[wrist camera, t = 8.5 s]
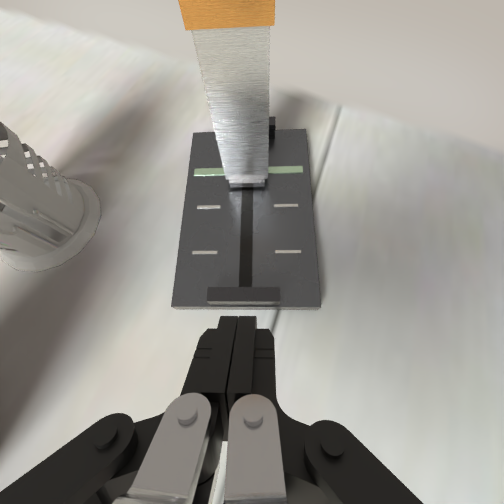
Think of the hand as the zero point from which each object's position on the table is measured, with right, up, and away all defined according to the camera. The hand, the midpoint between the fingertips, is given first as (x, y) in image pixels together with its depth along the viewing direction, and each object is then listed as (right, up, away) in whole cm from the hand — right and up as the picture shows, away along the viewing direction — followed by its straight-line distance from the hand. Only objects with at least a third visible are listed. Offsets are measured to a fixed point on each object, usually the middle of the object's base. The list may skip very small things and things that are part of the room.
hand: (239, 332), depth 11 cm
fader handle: (0, +11, +12) cm, 16 cm away
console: (0, +7, +12) cm, 14 cm away
